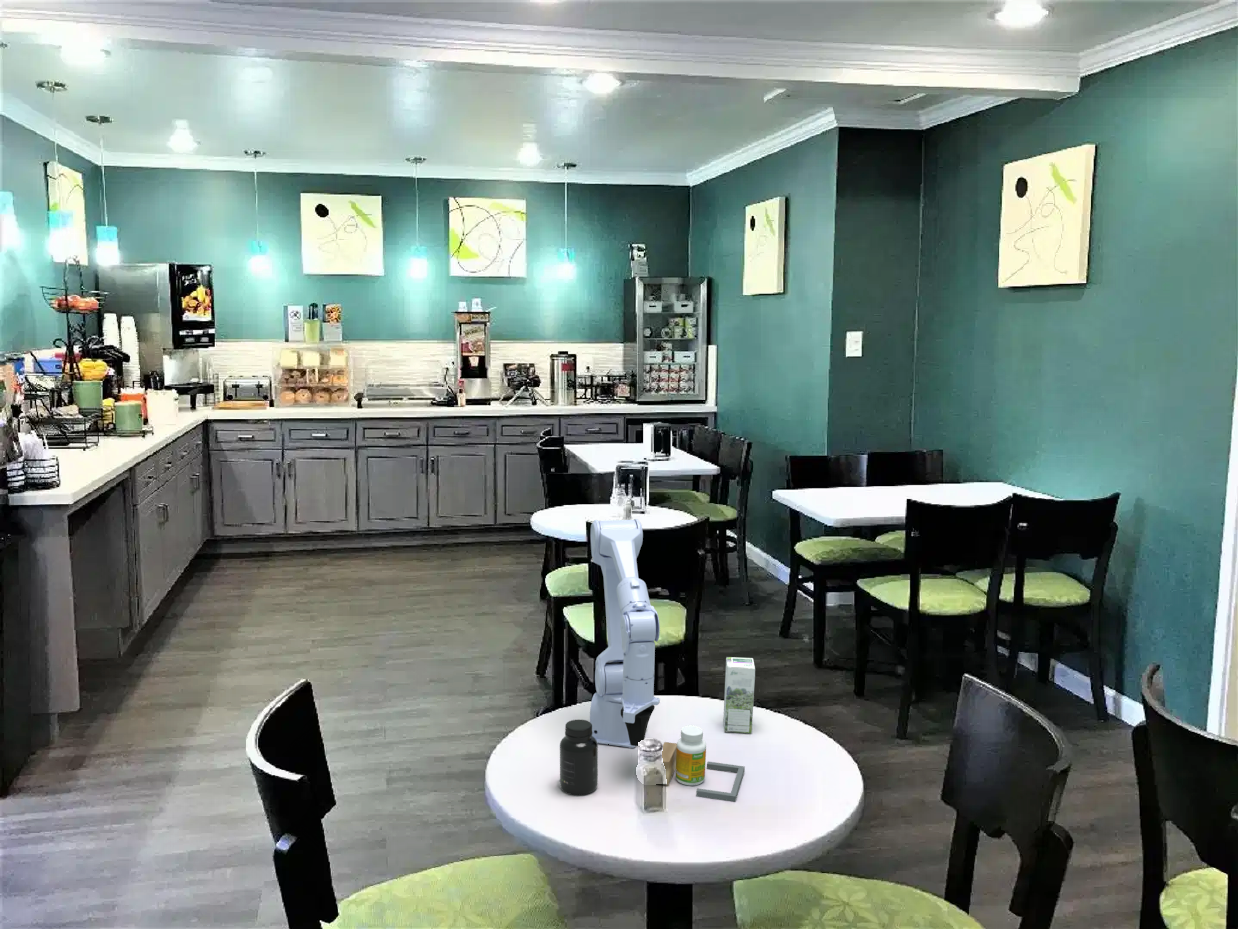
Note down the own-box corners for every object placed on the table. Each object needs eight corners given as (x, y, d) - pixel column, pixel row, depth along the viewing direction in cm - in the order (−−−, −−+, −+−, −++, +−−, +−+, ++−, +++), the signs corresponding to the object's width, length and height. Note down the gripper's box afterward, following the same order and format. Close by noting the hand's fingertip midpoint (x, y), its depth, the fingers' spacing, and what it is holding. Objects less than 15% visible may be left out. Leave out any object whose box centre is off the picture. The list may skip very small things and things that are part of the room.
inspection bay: (696, 796, 179) (696, 791, 179) (707, 766, 190) (707, 761, 190) (735, 801, 177) (735, 796, 177) (744, 771, 189) (744, 766, 189)
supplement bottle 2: (692, 789, 181) (694, 740, 179) (669, 778, 185) (671, 730, 183) (710, 778, 185) (712, 730, 183) (687, 768, 189) (689, 720, 187)
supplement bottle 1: (579, 774, 186) (580, 713, 184) (605, 788, 181) (606, 725, 179) (551, 786, 181) (552, 723, 179) (576, 800, 176) (578, 736, 175)
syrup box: (750, 722, 211) (753, 656, 208) (752, 735, 205) (755, 667, 202) (723, 721, 211) (725, 655, 209) (724, 733, 205) (726, 665, 203)
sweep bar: (654, 783, 183) (655, 760, 182) (663, 764, 190) (664, 742, 190) (668, 785, 182) (668, 762, 181) (676, 766, 190) (677, 743, 189)
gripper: (651, 691, 177) (649, 764, 179) (668, 663, 191) (666, 731, 193) (612, 687, 178) (610, 759, 181) (631, 659, 192) (630, 727, 194)
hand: (636, 744), depth 187 cm, fingers closed
